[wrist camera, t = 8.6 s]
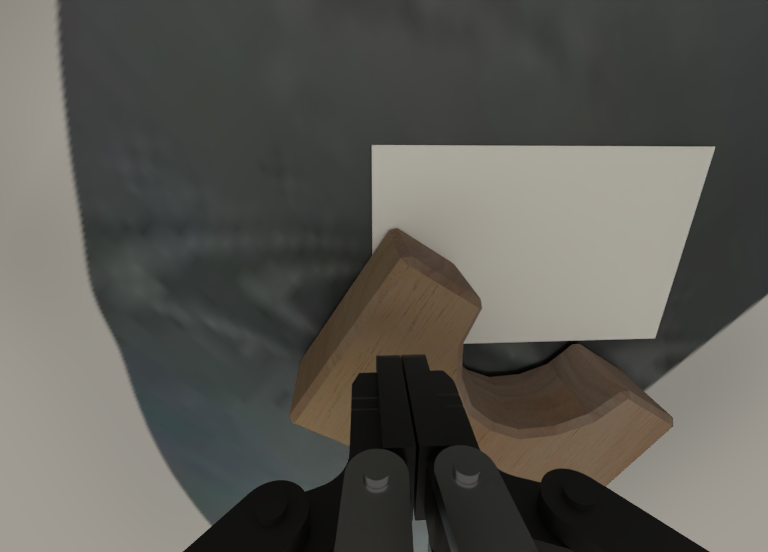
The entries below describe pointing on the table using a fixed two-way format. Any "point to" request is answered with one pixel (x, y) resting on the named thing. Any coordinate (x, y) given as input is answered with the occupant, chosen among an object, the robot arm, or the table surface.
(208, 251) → the table surface
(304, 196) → the table surface
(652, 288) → the mat
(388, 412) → the robot arm
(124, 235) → the table surface
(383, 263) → the decorative block
